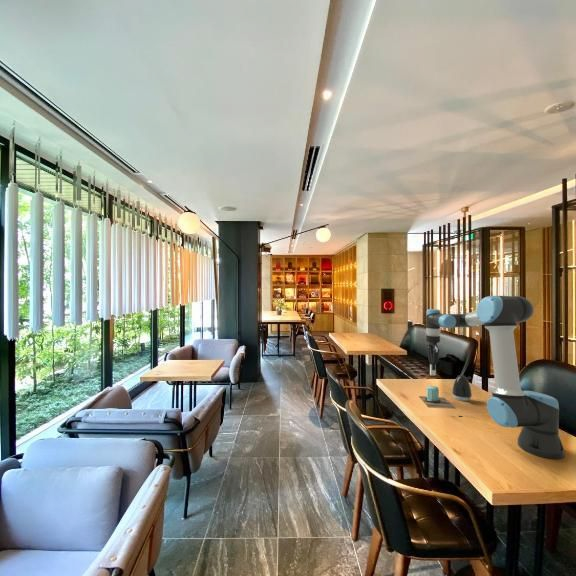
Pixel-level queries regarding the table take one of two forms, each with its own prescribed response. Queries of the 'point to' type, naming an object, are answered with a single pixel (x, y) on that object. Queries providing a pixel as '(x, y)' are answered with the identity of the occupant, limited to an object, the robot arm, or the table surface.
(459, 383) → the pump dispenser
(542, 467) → the table surface
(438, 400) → the post
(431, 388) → the cap
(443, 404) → the board
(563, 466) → the table surface
